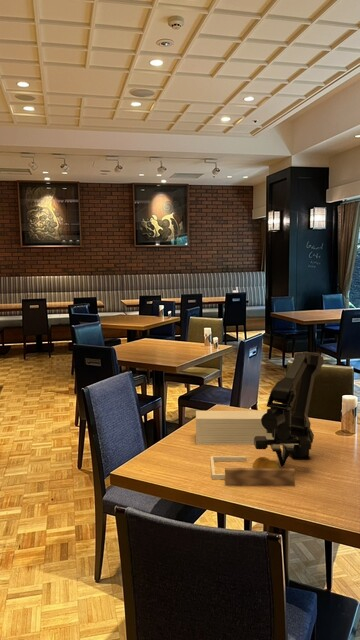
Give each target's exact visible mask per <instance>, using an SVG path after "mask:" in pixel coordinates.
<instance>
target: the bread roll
mask: <svg viewBox="0 0 360 640" xmlns="http://www.w3.org/2000/svg"><path fill="white" fill-rule="evenodd" d="M252 468H280V464H279V463H278V461H276V460H273V459H272V460H271V459H270V458H268V457H265V456H260V457H257V458H256V459H255V460H254V461H253V462H252Z"/></svg>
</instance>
